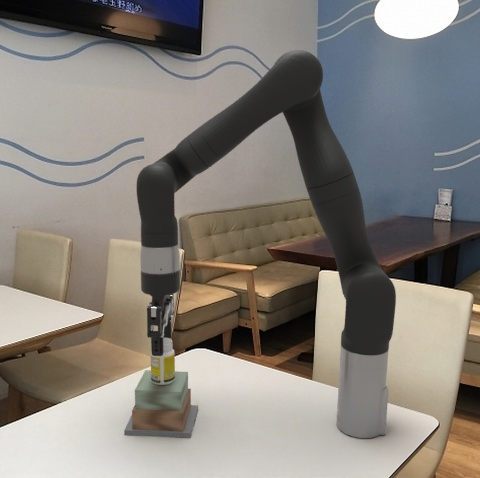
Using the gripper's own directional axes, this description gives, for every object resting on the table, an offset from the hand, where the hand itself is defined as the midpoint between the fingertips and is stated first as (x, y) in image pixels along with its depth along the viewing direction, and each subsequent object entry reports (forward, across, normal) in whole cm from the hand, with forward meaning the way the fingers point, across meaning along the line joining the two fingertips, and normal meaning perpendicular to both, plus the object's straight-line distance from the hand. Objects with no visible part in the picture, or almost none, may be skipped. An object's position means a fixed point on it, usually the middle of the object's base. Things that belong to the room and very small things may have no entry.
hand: (162, 346), depth 108 cm
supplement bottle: (+7, 0, 0) cm, 7 cm away
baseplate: (+16, 0, 0) cm, 16 cm away
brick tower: (+16, 0, 0) cm, 16 cm away
